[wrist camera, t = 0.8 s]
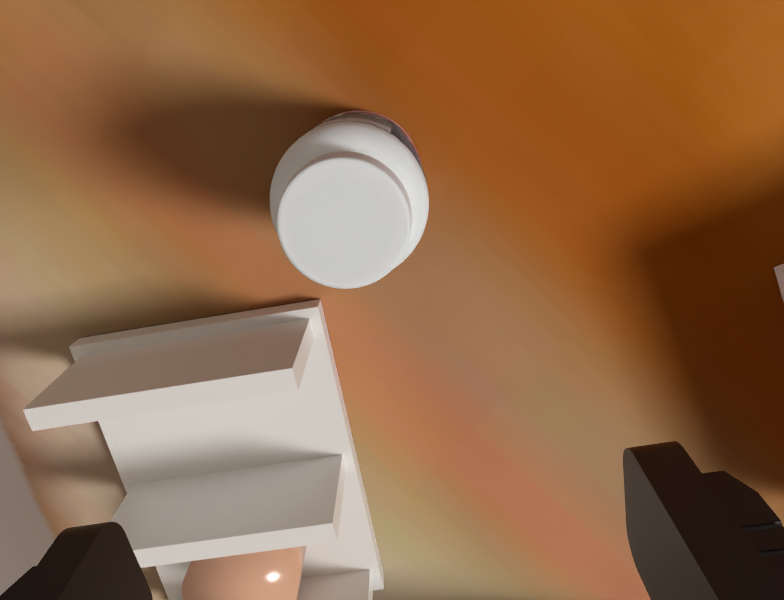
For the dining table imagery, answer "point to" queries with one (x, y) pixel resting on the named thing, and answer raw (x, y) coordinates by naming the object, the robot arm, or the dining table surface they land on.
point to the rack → (227, 444)
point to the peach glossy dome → (246, 576)
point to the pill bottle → (349, 200)
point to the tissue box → (780, 278)
